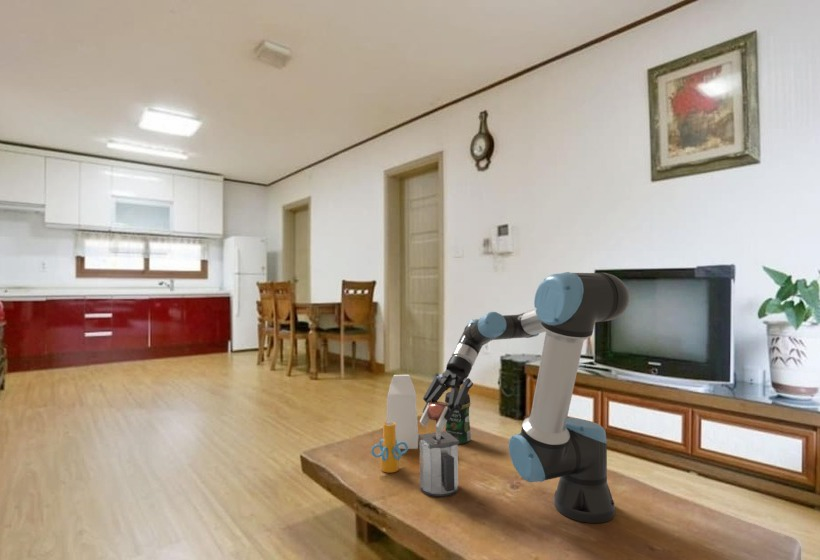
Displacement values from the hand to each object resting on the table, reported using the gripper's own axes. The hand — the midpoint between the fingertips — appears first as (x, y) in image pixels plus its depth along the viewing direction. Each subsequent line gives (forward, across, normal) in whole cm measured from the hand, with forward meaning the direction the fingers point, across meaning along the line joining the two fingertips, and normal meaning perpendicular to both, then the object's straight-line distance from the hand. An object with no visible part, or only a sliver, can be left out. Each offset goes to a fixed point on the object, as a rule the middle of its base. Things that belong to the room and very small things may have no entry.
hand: (430, 426), depth 126 cm
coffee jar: (-14, +18, -42) cm, 48 cm away
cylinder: (+11, +21, -17) cm, 29 cm away
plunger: (+9, 0, -14) cm, 17 cm away
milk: (-3, +33, -31) cm, 45 cm away
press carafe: (+12, -1, -16) cm, 20 cm away
